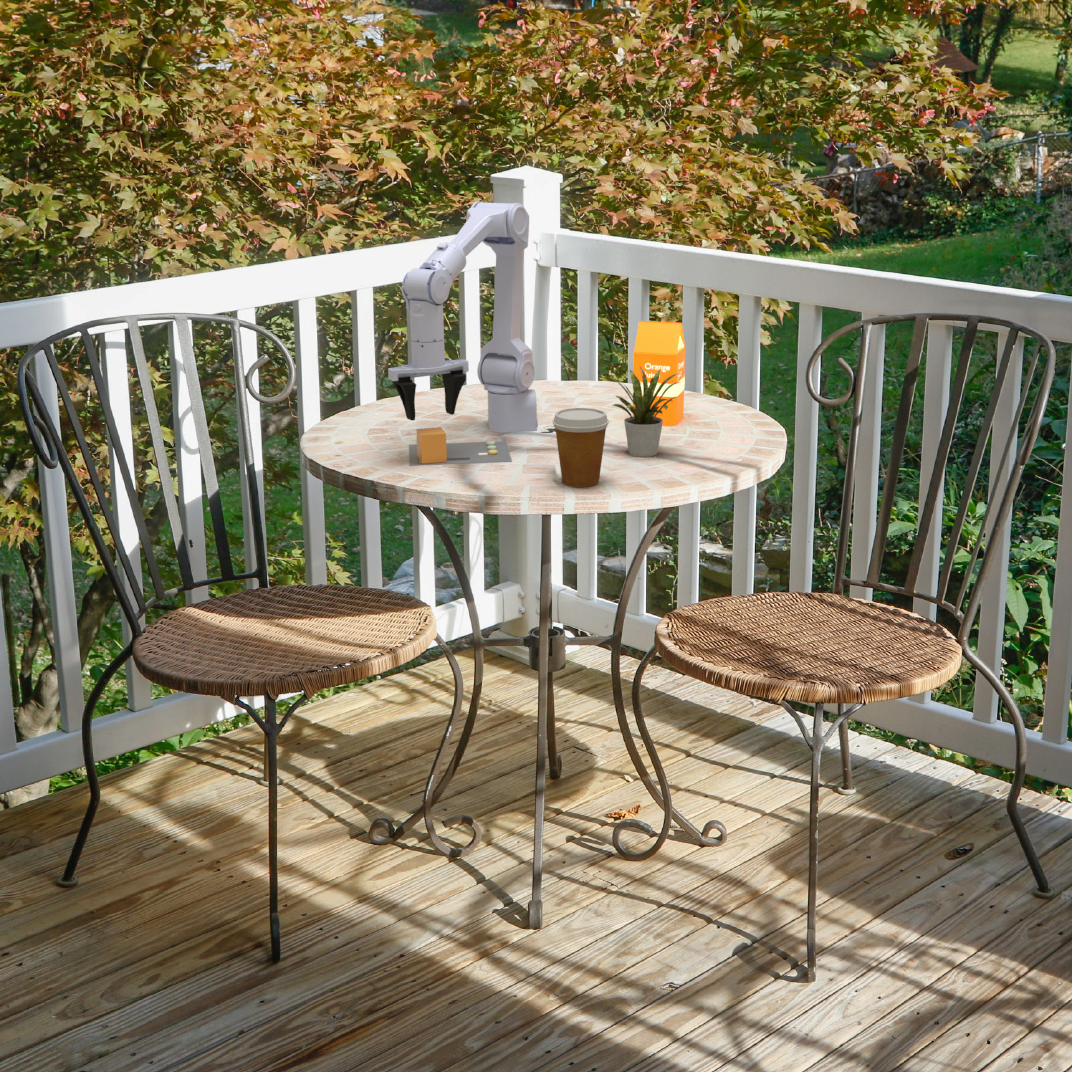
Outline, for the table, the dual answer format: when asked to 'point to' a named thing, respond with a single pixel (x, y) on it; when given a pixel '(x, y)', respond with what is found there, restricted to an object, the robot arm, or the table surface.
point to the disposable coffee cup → (580, 444)
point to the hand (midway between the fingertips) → (430, 416)
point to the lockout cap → (431, 445)
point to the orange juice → (662, 364)
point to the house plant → (644, 414)
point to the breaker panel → (468, 453)
